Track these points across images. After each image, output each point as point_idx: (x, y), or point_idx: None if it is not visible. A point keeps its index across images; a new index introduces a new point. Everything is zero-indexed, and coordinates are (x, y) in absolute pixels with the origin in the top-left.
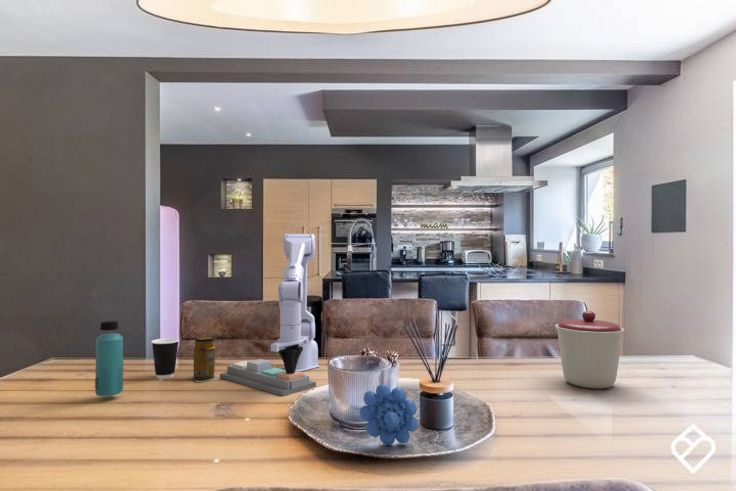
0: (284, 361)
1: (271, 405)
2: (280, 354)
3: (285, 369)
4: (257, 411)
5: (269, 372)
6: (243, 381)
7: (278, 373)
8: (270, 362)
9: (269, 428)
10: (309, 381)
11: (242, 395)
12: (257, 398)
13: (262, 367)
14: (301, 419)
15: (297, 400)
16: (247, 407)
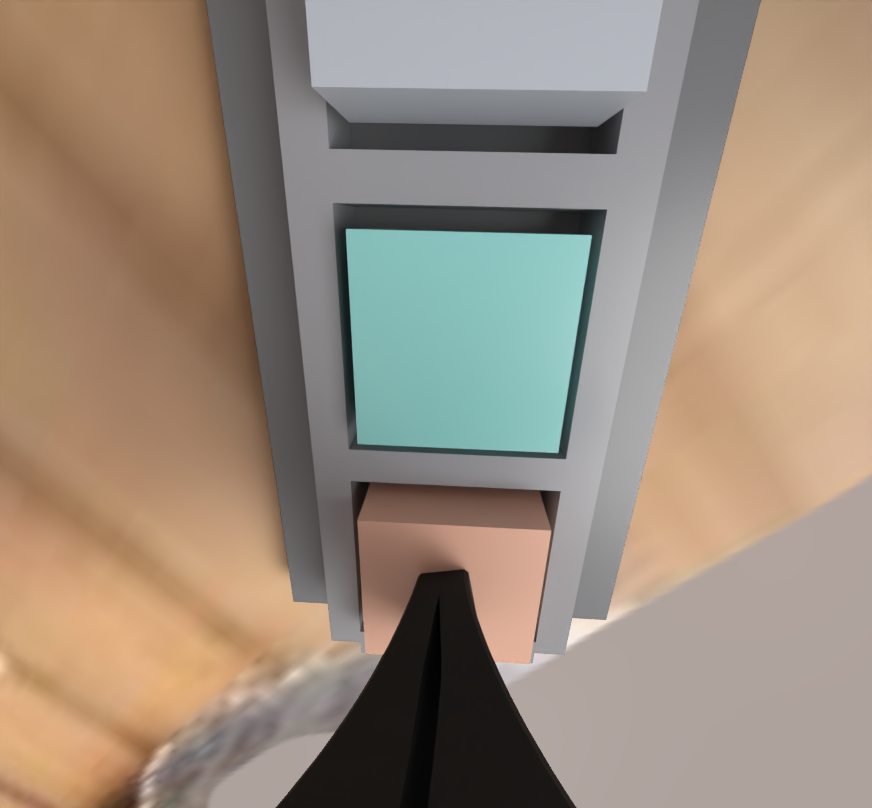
0: (380, 693)
1: (168, 627)
2: (288, 806)
3: (409, 603)
4: (69, 635)
5: (367, 372)
6: (221, 50)
7: (360, 531)
8: (623, 96)
9: (43, 763)
10: (593, 582)
11: (95, 367)
12: (157, 495)
13: (435, 109)
14: (186, 786)
15: (318, 666)
16: (43, 565)
